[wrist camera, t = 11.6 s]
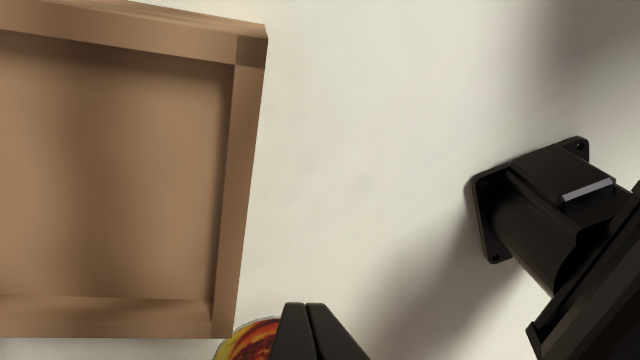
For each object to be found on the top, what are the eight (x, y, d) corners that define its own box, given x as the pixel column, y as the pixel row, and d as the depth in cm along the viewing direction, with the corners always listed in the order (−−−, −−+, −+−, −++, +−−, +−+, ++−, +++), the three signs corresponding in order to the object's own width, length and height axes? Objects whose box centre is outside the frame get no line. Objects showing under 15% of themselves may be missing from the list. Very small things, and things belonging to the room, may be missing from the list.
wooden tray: (268, -9, 16) (273, -3, 13) (232, 299, 24) (229, 357, 20) (-111, -83, 14) (-235, -101, 10) (-22, 292, 21) (-76, 358, 17)
